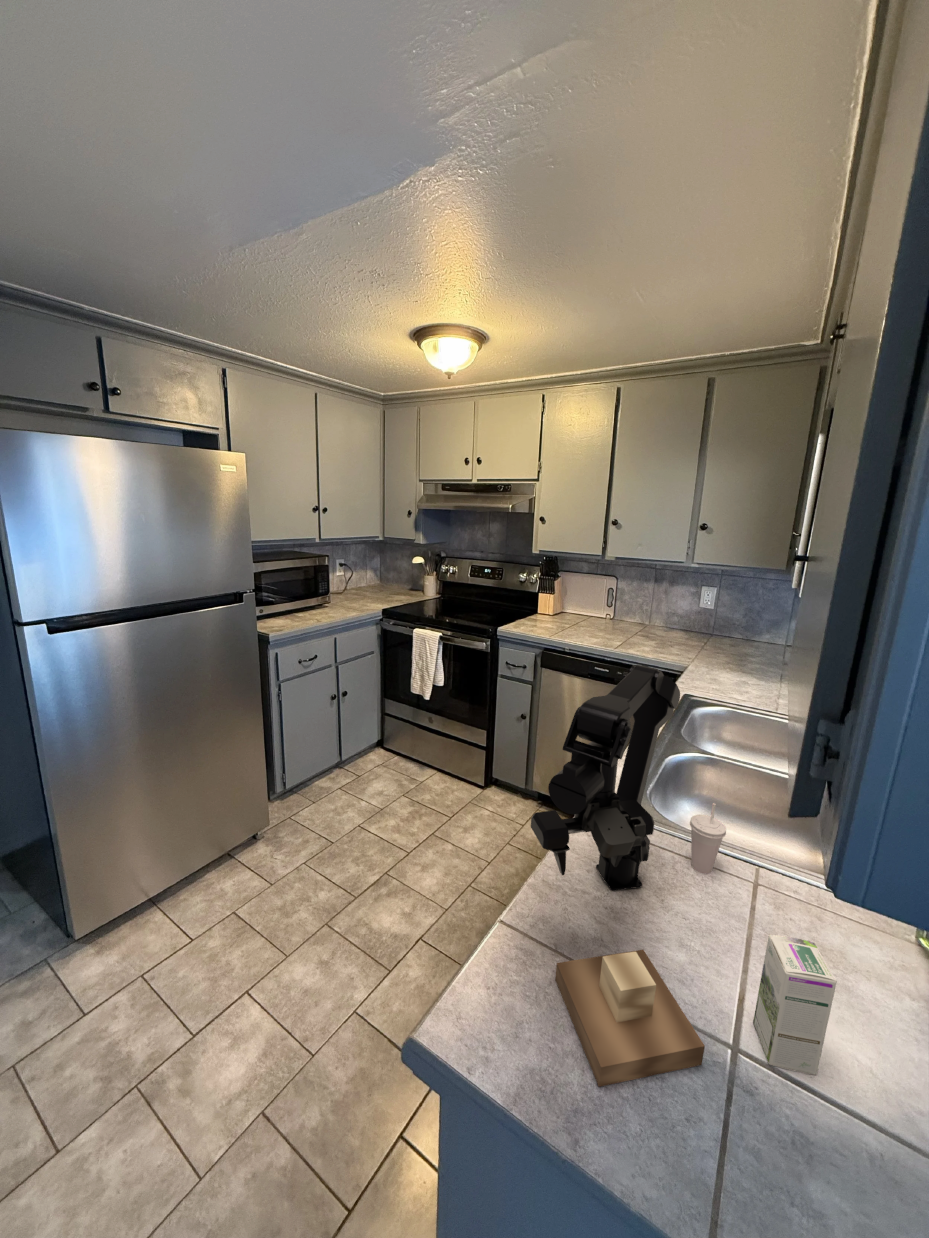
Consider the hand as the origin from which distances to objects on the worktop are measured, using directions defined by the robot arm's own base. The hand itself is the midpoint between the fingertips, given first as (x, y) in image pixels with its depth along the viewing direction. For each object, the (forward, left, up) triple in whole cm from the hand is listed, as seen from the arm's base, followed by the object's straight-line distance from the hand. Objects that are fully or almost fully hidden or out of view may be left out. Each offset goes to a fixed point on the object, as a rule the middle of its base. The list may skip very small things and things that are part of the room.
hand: (588, 869), depth 79 cm
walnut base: (+1, +15, -11) cm, 19 cm away
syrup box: (-18, +22, -12) cm, 31 cm away
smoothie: (-30, -10, -12) cm, 34 cm away
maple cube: (+1, +15, -8) cm, 17 cm away
